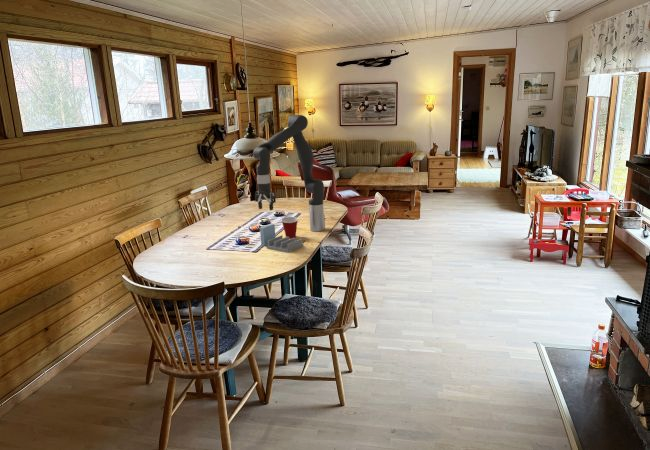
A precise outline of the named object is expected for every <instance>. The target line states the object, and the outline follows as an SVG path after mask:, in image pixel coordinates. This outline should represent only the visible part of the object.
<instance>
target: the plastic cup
mask: <svg viewBox="0 0 650 450" xmlns="http://www.w3.org/2000/svg"><path fill="white" fill-rule="evenodd" d="M280 221H281V223H282V226H283V230H284V234H285V237H289V239H292V238H295V239H296V237H297V230H298V229H297V228H298V221H299V218H298V217H296V216H287V217H286V216H285V217H283V218H281V219H280Z"/></svg>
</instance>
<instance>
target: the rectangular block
mask: <svg viewBox="0 0 650 450" xmlns="http://www.w3.org/2000/svg"><path fill="white" fill-rule="evenodd" d="M275 228H276V227H275V224H274V223H270V224H269V223H268V224H267V225H263V226H261V227H259V231H260V232H259V233H260V245H261V246H263V247H267V246H268V240H270V239H273V238H276V237H277V236H276V229H275Z"/></svg>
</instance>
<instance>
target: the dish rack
mask: <svg viewBox="0 0 650 450" xmlns="http://www.w3.org/2000/svg"><path fill="white" fill-rule="evenodd" d="M275 237H276V238H273V239H270V240H268V245H266V249H268V250H272V251H278V252H283V253H290V252H293V251H295V250H298V249H300V248H301V247H304V243H303V239H302V238H299V239H296V237H295V238H292V239H289V237H286V236H285V237H283V235H279V236H275Z"/></svg>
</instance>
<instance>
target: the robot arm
mask: <svg viewBox="0 0 650 450" xmlns="http://www.w3.org/2000/svg"><path fill="white" fill-rule="evenodd" d="M308 121H309V120H308V118H307V117H306V116H305V115H303V114H291V115H290V116H289V117H288V119H287V127H286V128H285V129H283V130H281V131H279V132H277V133H275V134H273V135H272V137H270V138H269V139H268V140H266V141H265V142H263V143H261V144H260V145H258V146H257V147H255V149H254V150H253V152H252V153H253V154H252V155H253V156H252V157H253V158H254V159H255V160H259V164H257V165H256V184H257V191H255V192H254V202H257V204H258V205H257V206H258V209H259V210H262V209H263V200H264V201H267V202H268V205H269V207H268V208H269V211H273V210H274V204H275V203H276V201H277V200H276V194H275V192H271V190H272V188H271V187H272V186H271V176H270V169H269V168H270V163H271V162H270V161H271V152H275V151H276V150H277V149H279V148H280V147H282V145H283V144H285V143H286V142H287V141H288V140H290V139H291V138H292V140H293V142H294V146H295V149H296V152H297V157H298V161H299V164H300V166H301V167H300V169H301V172H302V176H303V177H302V178H303V183H304V188H305V190H306V192H308V193H309V194H312V195H313V197H312V198H310V199H309V200H308V211H309V213H308V214H309V228H310V231H311V232H322V231H324V230H325V229H326V219H325V218H326V216H325V212H324V199H325V185H324V182H323V180H321V179H318V178H317V179H316V178H314V175H313V171H312V169H313V167H314V166H313V165H314V162H315V157H314V153H313V149H312V147H311V145H310V143H309V142H308V141H307V140H306V138H305V137H304V134H303V131H304V130H305V129H306V128H307V127H308V124H309V123H308Z"/></svg>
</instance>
